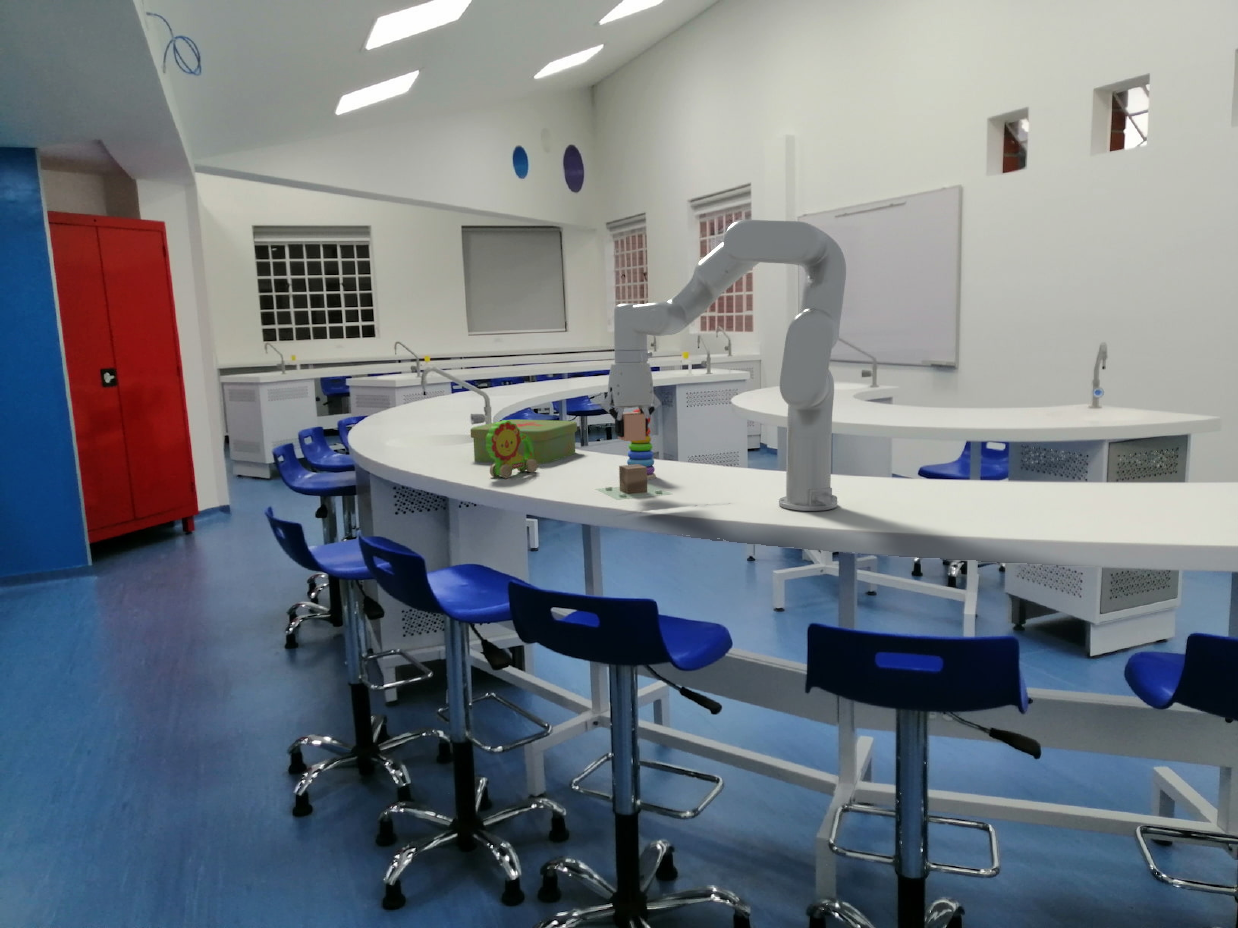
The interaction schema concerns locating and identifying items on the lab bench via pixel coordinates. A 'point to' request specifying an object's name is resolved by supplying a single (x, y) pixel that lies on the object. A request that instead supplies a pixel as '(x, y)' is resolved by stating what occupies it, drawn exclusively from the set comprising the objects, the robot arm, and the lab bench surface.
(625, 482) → the walnut block
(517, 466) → the toy lion
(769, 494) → the lab bench surface
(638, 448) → the stacking toy
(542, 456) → the first aid kit
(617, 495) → the build plate
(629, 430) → the rust block
